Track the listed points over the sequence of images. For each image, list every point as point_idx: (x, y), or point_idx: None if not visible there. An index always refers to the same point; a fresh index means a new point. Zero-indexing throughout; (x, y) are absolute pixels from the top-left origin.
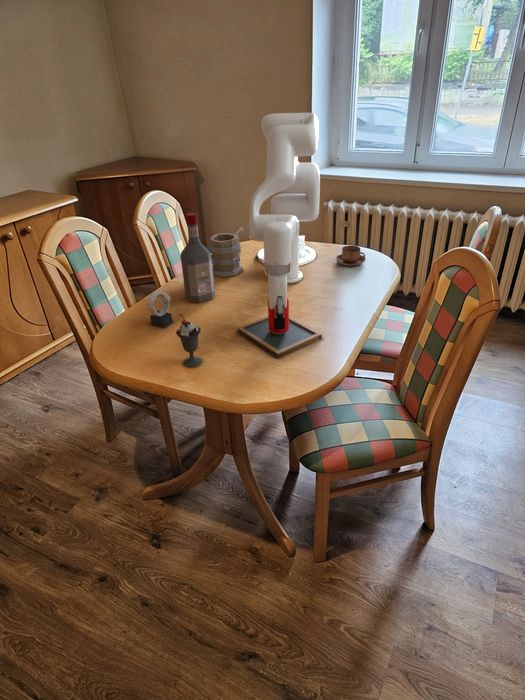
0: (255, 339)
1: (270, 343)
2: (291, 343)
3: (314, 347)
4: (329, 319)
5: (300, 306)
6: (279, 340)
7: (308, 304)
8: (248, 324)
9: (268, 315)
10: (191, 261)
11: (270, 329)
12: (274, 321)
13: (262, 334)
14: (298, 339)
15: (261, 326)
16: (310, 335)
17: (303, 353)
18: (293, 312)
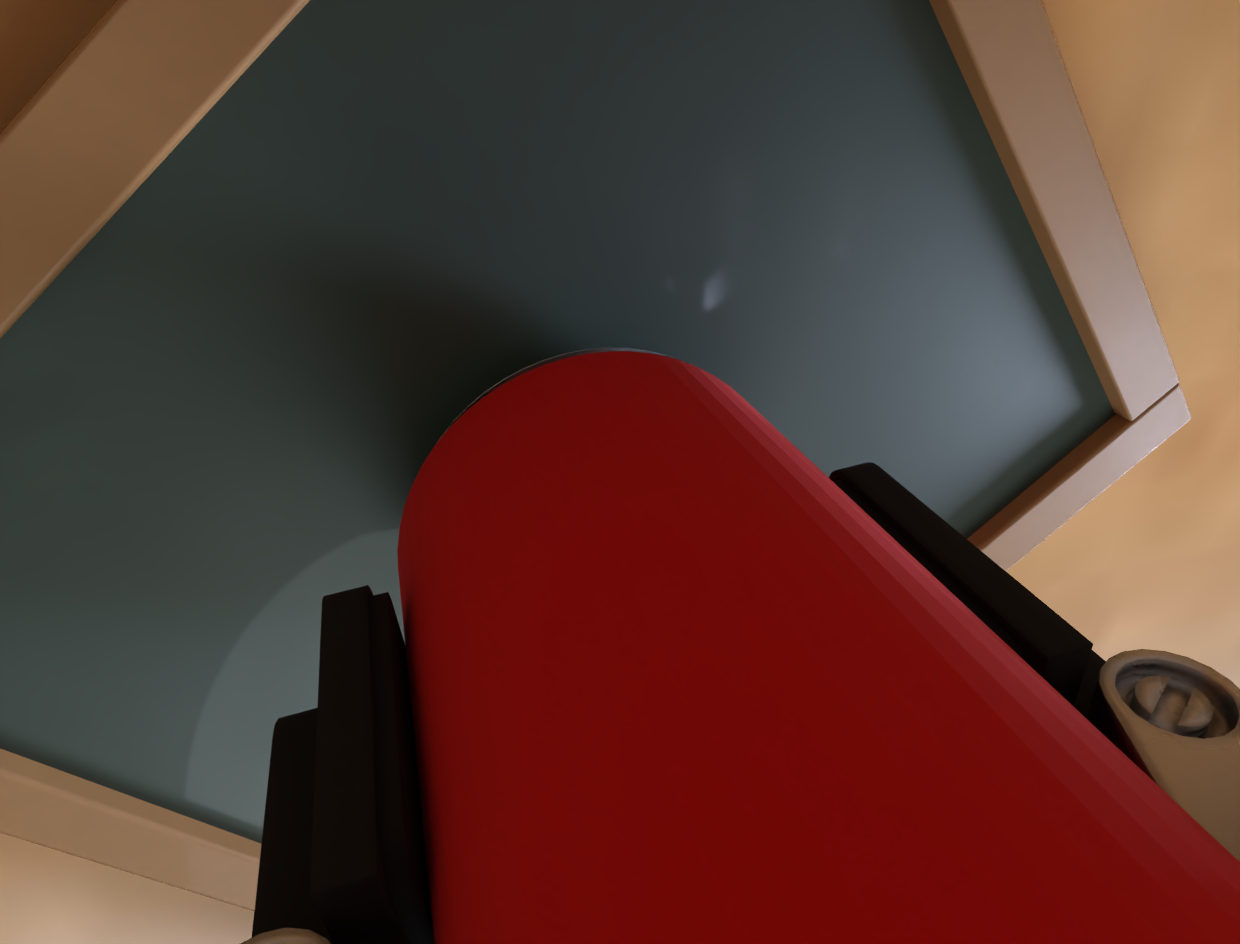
0: (88, 34)
1: (46, 431)
2: (173, 758)
3: (252, 926)
4: None
5: (1228, 587)
6: (236, 570)
7: (1230, 650)
8: None
9: (660, 569)
10: None
11: (473, 427)
12: (317, 770)
13: (435, 202)
14: None
15: (787, 144)
16: None
17: (29, 874)
18: (1134, 542)
